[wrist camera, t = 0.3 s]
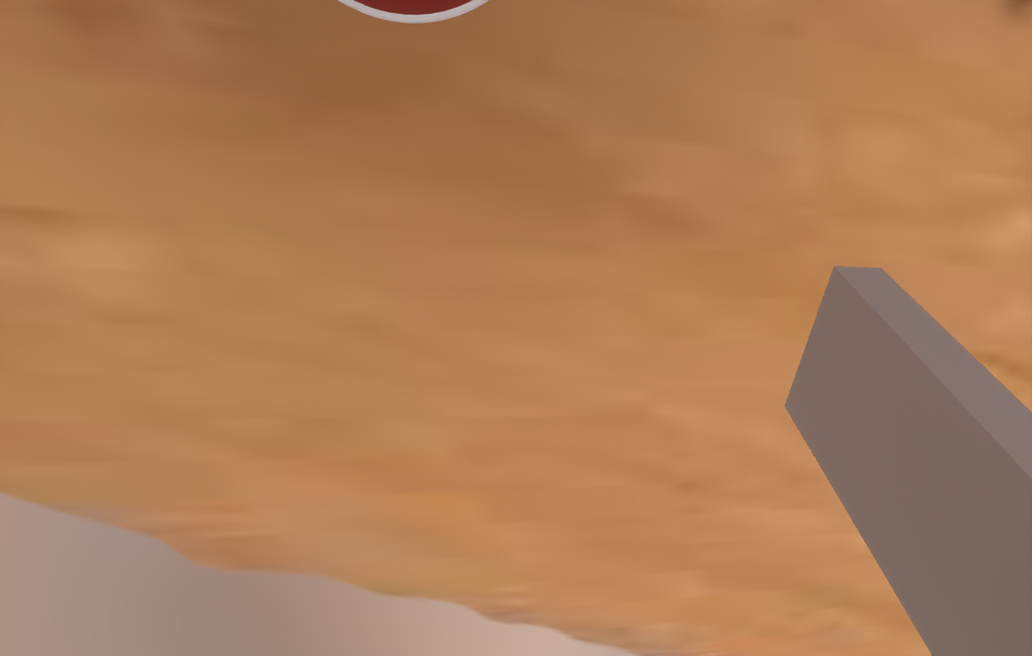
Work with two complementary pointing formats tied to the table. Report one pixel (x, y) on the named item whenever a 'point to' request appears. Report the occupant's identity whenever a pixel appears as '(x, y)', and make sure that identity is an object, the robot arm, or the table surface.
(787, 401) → the robot arm
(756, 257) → the table surface
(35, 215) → the table surface
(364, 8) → the cup
